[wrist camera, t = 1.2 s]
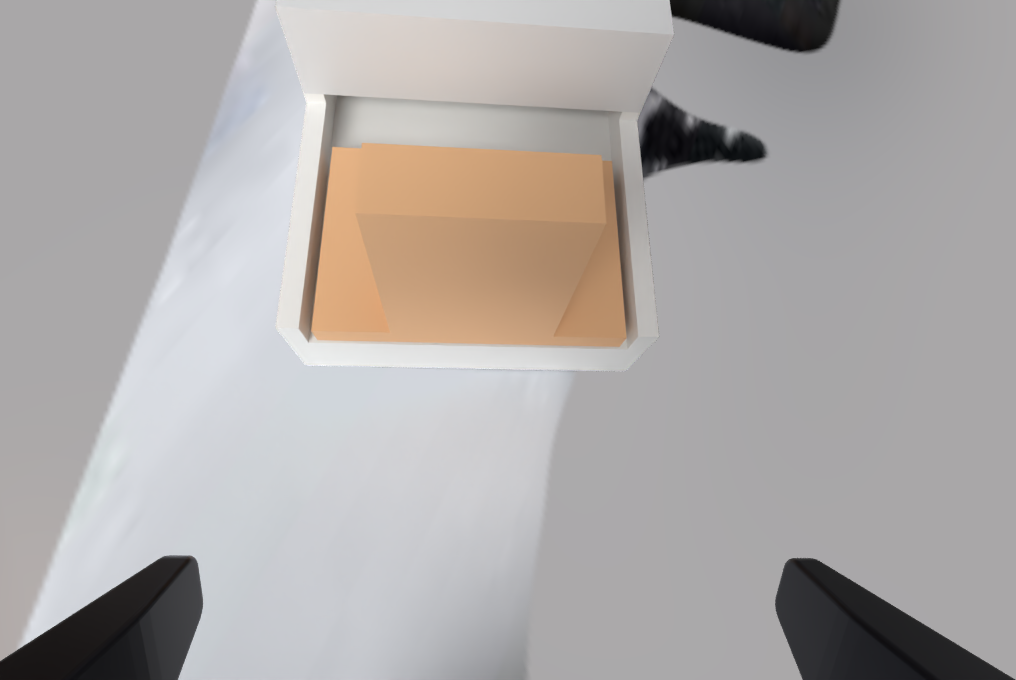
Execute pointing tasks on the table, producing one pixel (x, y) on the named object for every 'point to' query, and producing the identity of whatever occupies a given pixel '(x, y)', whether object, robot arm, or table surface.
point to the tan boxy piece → (469, 248)
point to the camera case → (473, 133)
